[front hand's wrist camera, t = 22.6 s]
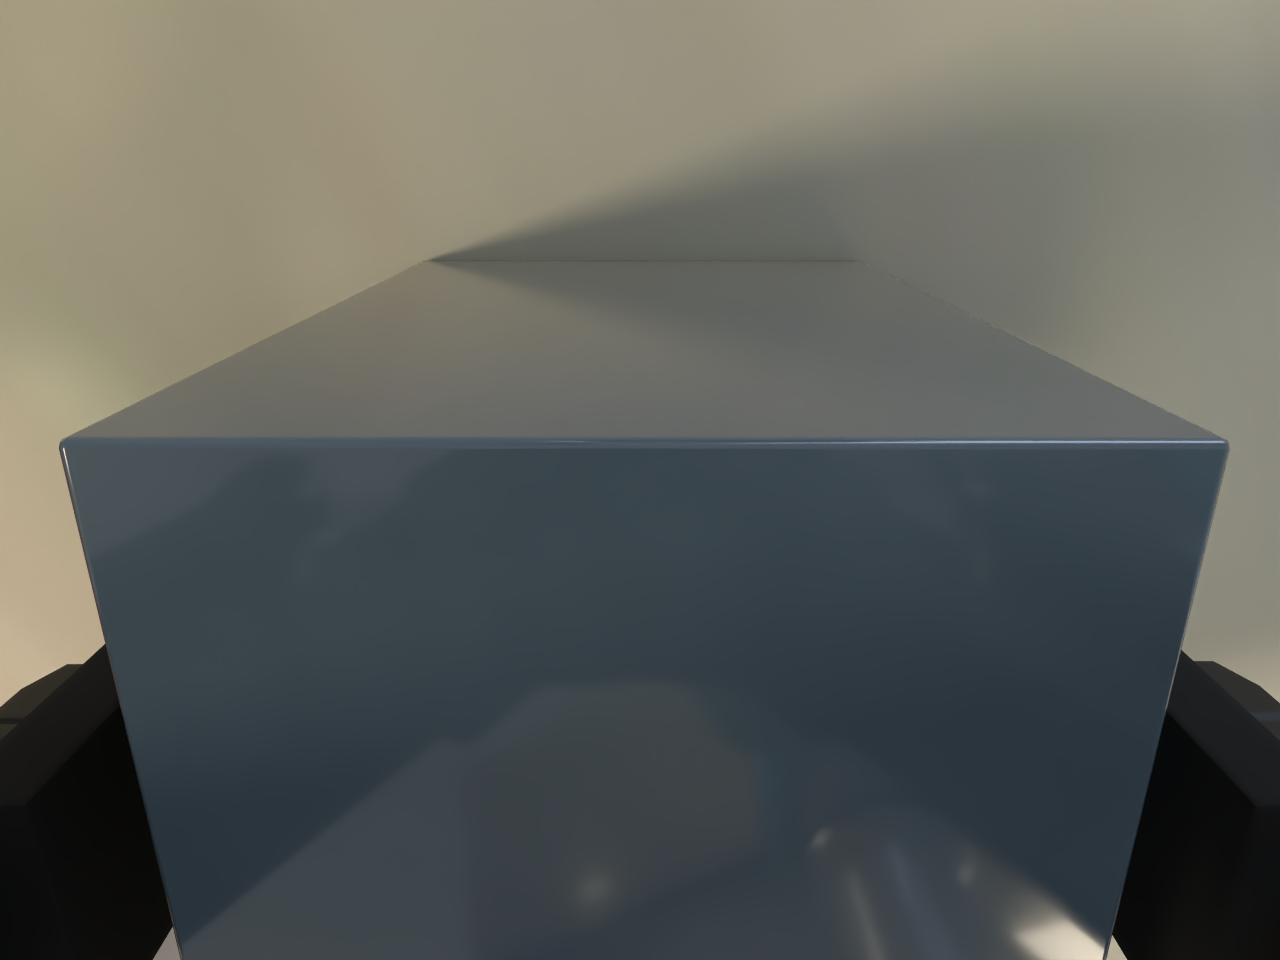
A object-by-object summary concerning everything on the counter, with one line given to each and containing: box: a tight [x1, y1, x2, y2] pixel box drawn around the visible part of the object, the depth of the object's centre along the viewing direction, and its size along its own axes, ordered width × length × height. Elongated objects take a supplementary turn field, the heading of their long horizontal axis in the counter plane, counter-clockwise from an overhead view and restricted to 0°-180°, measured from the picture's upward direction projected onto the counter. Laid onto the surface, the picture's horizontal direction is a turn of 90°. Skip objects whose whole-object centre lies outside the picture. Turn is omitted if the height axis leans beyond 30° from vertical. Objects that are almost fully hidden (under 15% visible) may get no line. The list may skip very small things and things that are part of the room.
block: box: [59, 261, 1229, 960], centre depth 11 cm, size 7×9×9 cm
